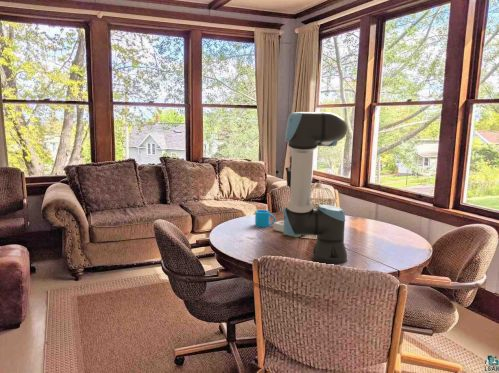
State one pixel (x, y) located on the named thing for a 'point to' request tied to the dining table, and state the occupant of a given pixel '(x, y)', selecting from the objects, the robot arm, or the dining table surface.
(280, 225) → the mount
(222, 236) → the dining table surface
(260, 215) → the mug
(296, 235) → the socket
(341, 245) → the robot arm
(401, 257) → the dining table surface
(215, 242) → the dining table surface
